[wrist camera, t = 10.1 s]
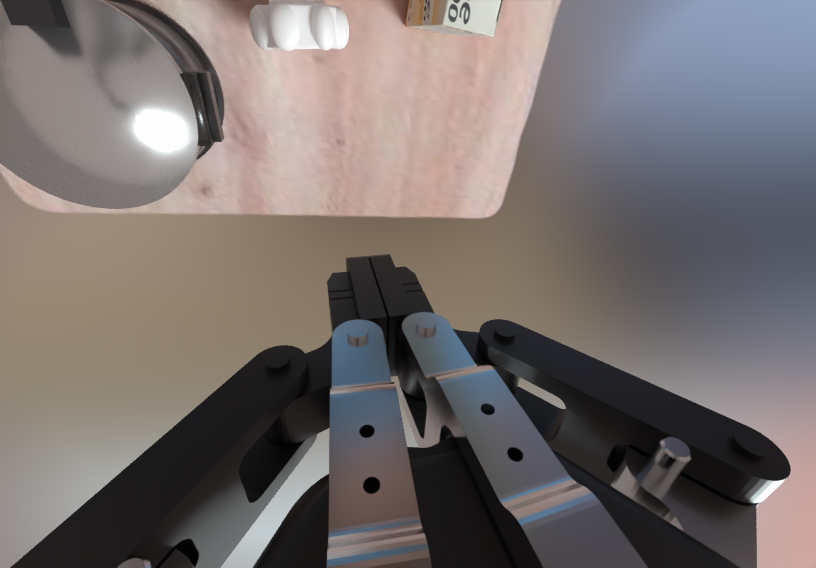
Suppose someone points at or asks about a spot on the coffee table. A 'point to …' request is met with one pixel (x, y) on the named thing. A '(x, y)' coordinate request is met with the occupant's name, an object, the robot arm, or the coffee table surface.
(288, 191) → the coffee table surface
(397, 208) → the coffee table surface
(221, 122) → the cooker pot
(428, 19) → the supplement box
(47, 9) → the cooker lid
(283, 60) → the coffee table surface
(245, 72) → the coffee table surface
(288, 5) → the white bone
